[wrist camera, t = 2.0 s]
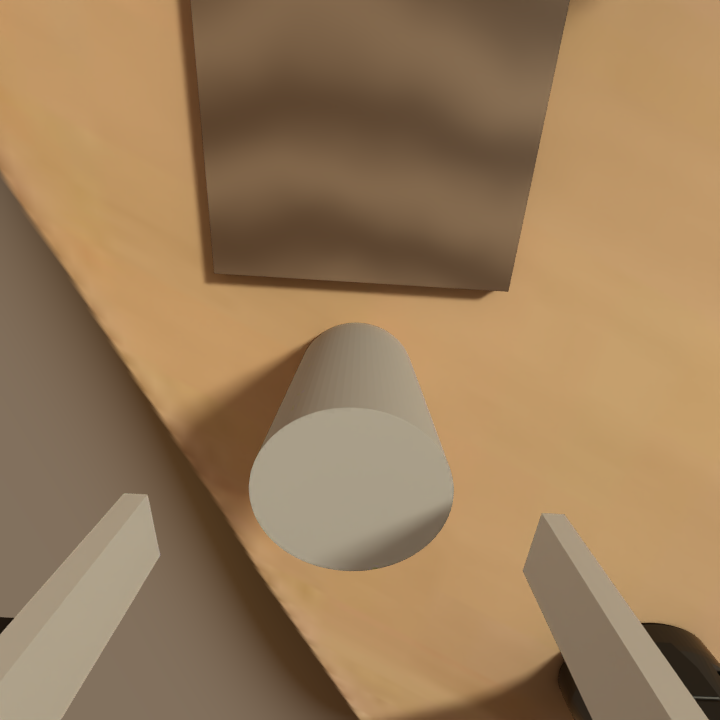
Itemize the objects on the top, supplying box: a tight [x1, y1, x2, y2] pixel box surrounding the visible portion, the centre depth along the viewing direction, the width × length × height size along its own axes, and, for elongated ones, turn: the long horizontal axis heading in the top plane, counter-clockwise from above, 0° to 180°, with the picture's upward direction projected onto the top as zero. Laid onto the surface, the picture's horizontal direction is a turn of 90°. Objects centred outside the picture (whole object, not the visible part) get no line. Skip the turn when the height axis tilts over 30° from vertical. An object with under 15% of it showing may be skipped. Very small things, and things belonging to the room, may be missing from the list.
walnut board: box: [190, 0, 570, 292], centre depth 19 cm, size 16×18×2 cm
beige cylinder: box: [249, 323, 454, 571], centre depth 19 cm, size 8×8×12 cm
